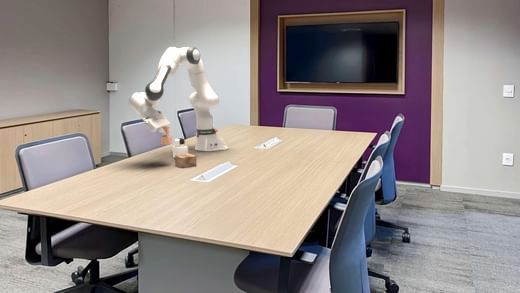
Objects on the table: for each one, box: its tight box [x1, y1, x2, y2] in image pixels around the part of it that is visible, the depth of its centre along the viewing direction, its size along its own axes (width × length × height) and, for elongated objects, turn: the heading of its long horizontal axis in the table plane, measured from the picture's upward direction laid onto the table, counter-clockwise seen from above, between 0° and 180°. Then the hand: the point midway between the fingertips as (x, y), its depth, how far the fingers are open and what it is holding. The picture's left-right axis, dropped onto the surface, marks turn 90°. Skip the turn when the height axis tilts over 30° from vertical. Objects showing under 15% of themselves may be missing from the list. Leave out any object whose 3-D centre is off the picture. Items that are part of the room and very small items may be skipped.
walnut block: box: [174, 153, 197, 169], centre depth 261 cm, size 9×9×6 cm
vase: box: [160, 125, 173, 146], centre depth 262 cm, size 5×5×10 cm
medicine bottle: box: [171, 137, 189, 159], centre depth 283 cm, size 7×7×12 cm
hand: (167, 133), depth 261 cm, fingers closed on vase, 2 cm apart
